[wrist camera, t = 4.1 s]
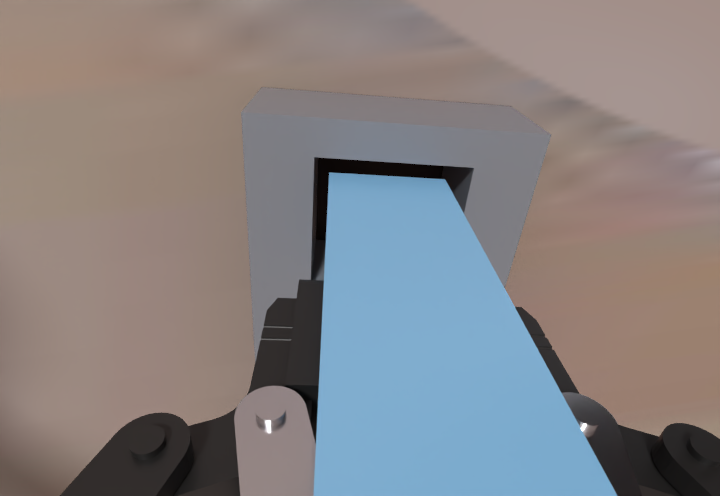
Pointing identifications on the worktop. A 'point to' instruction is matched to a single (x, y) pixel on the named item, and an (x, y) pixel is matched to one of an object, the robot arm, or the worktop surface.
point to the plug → (431, 360)
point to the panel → (383, 144)
